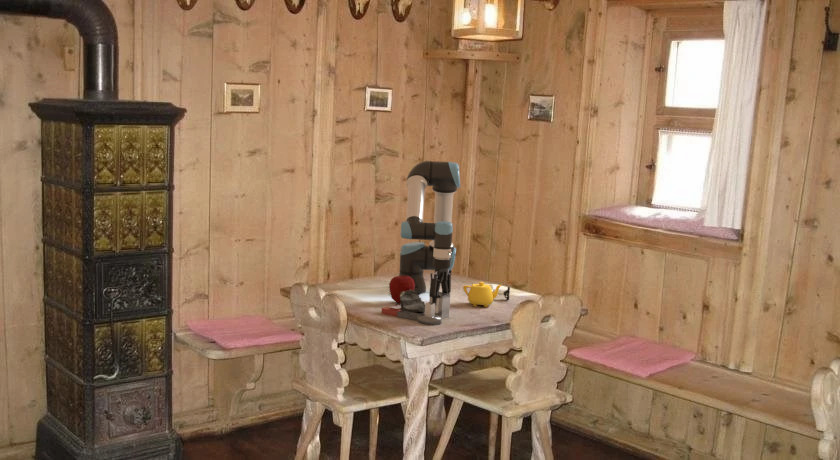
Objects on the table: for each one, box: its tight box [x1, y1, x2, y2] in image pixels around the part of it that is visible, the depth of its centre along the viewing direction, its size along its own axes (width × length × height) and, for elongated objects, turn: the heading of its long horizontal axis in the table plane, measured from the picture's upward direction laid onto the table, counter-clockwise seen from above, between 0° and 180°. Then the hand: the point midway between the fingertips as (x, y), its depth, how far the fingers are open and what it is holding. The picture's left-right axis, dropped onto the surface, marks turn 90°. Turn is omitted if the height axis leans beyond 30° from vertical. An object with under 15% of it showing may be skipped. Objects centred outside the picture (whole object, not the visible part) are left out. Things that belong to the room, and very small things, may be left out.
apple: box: [388, 275, 415, 305], centre depth 383 cm, size 12×12×13 cm
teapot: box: [462, 281, 503, 308], centre depth 387 cm, size 18×11×11 cm, turn 87°
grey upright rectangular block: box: [428, 291, 451, 320], centre depth 361 cm, size 6×6×10 cm
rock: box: [400, 290, 426, 314], centre depth 368 cm, size 14×11×10 cm
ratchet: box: [380, 301, 443, 326], centre depth 356 cm, size 28×10×8 cm, turn 58°
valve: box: [489, 284, 511, 301], centre depth 401 cm, size 7×7×12 cm
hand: (439, 311), depth 362 cm, fingers closed on grey upright rectangular block, 6 cm apart
